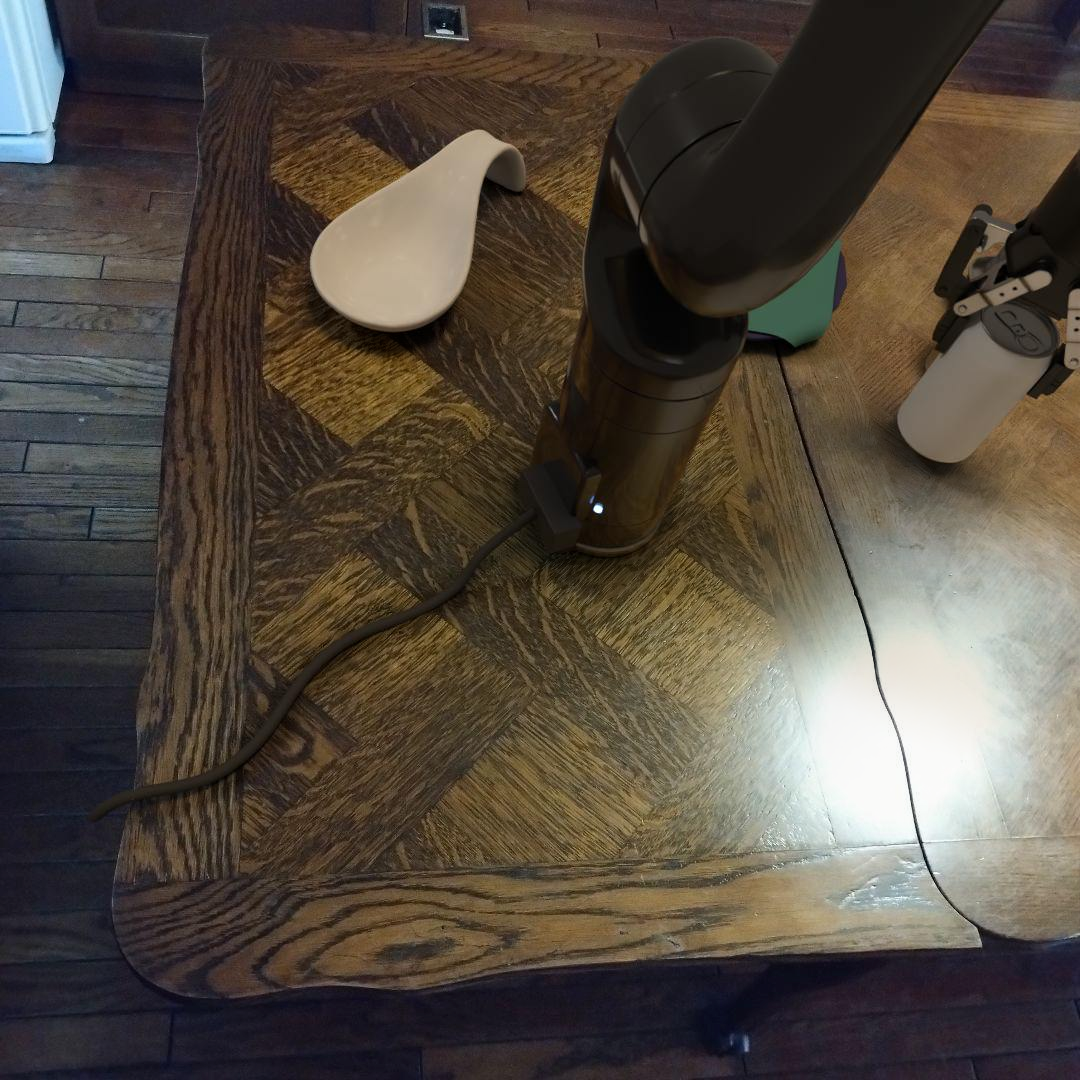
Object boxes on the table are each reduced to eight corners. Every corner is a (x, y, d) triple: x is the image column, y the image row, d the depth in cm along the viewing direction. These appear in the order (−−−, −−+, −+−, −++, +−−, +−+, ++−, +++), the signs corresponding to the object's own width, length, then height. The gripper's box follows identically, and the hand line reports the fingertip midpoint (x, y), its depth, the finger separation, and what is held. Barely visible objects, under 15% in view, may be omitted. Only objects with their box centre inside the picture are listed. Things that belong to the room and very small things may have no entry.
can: (924, 474, 75) (1012, 371, 64) (879, 409, 77) (956, 300, 67) (989, 454, 77) (1085, 351, 66) (943, 391, 79) (1028, 282, 69)
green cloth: (593, 312, 80) (598, 291, 78) (661, 100, 96) (667, 79, 94) (826, 383, 80) (838, 364, 78) (857, 159, 96) (867, 139, 94)
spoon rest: (412, 379, 74) (416, 311, 68) (281, 309, 76) (273, 237, 69) (558, 207, 86) (572, 137, 80) (443, 150, 88) (448, 77, 82)
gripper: (1010, 156, 55) (879, 354, 69) (1257, 269, 53) (1071, 449, 68) (1038, 91, 59) (909, 291, 73) (1270, 194, 57) (1091, 379, 71)
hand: (987, 366), depth 70 cm, fingers closed on can, 6 cm apart
